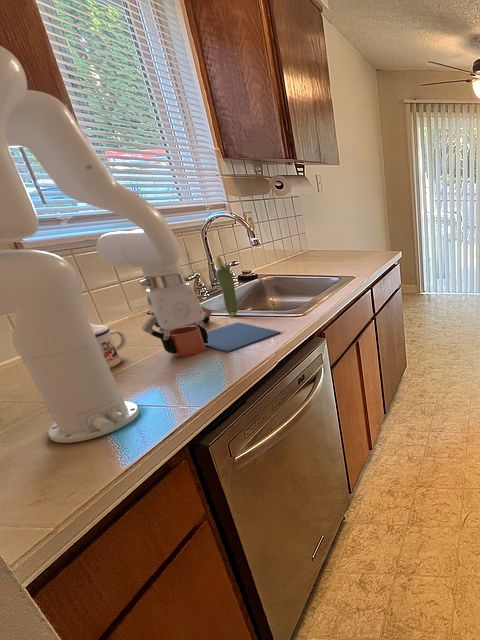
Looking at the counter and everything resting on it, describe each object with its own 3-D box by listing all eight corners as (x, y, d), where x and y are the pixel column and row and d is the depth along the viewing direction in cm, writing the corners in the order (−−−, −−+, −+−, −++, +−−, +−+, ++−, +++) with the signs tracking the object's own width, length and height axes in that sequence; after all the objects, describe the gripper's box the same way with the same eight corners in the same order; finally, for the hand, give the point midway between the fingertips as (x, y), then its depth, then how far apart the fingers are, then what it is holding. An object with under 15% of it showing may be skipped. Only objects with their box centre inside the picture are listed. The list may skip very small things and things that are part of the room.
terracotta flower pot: (211, 348, 107) (205, 327, 105) (183, 358, 101) (175, 336, 99) (196, 344, 110) (189, 324, 108) (167, 353, 105) (159, 332, 102)
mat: (280, 333, 118) (280, 331, 118) (227, 352, 105) (227, 351, 105) (237, 323, 126) (237, 322, 126) (184, 340, 113) (184, 339, 113)
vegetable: (229, 314, 135) (212, 254, 127) (243, 312, 137) (227, 253, 128) (226, 318, 132) (208, 256, 123) (241, 316, 133) (224, 255, 124)
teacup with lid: (88, 376, 93) (65, 329, 88) (65, 371, 96) (42, 325, 91) (143, 357, 103) (126, 313, 98) (121, 352, 106) (103, 310, 101)
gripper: (132, 291, 89) (159, 362, 97) (210, 275, 103) (229, 338, 111) (116, 287, 93) (143, 357, 100) (193, 272, 107) (213, 334, 114)
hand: (188, 347), depth 105 cm, fingers closed on terracotta flower pot, 7 cm apart
